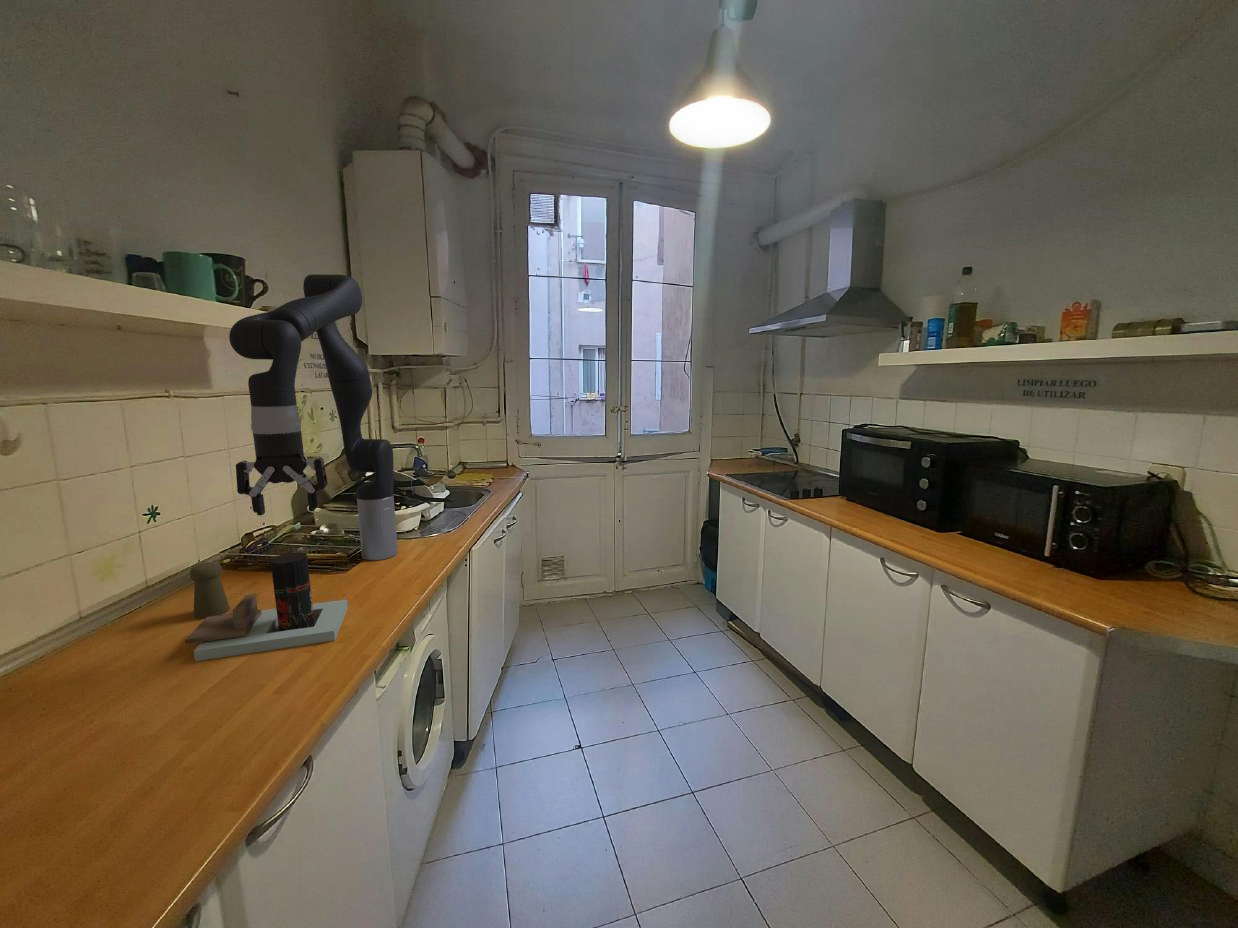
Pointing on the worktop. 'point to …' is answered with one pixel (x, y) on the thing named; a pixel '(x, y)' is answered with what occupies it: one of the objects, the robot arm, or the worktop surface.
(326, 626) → the socket board
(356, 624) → the worktop surface
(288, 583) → the deodorant
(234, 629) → the cover
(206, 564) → the cork
